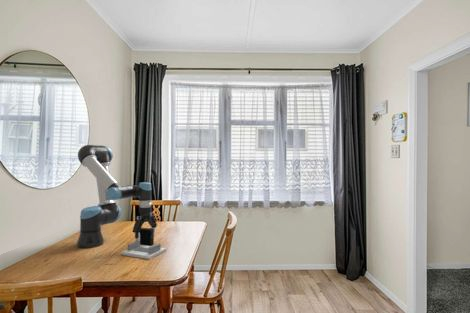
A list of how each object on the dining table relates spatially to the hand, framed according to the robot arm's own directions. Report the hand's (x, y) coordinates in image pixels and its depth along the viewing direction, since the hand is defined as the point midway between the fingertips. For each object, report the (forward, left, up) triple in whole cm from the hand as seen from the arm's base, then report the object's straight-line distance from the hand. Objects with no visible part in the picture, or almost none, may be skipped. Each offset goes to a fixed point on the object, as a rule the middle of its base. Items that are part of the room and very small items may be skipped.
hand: (145, 240), depth 174 cm
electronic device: (0, 0, -3) cm, 3 cm away
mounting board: (+10, -12, -3) cm, 16 cm away
